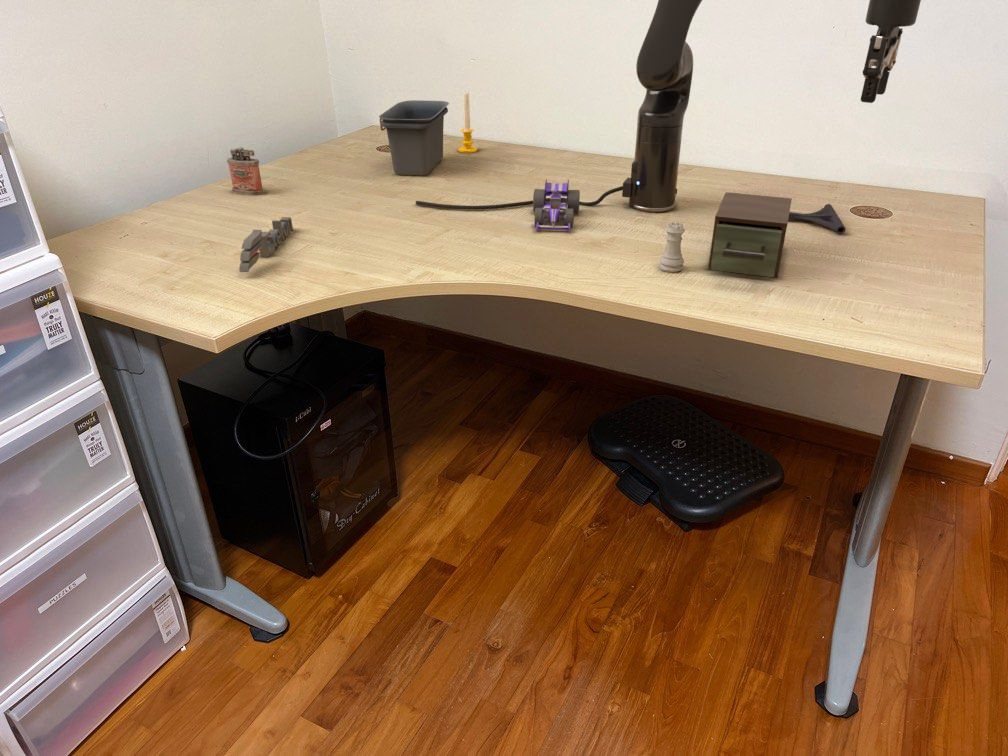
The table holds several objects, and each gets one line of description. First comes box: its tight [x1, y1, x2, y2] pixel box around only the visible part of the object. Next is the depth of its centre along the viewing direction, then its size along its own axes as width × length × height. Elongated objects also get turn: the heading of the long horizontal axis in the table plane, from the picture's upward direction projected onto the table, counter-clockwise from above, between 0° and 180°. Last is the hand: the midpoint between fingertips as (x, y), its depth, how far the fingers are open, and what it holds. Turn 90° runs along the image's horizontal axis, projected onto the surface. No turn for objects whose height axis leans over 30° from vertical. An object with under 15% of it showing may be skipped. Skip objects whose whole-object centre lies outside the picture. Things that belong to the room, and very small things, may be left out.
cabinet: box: [708, 191, 793, 279], centre depth 135 cm, size 15×12×10 cm
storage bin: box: [378, 99, 450, 177], centre depth 190 cm, size 21×16×14 cm
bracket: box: [788, 203, 846, 235], centre depth 154 cm, size 14×15×3 cm
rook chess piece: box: [657, 221, 686, 273], centre depth 132 cm, size 4×4×8 cm
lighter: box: [226, 146, 265, 196], centre depth 174 cm, size 8×3×10 cm, turn 68°
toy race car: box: [532, 178, 581, 233], centre depth 155 cm, size 10×15×6 cm, turn 174°
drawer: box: [711, 222, 782, 278], centre depth 131 cm, size 18×10×8 cm, turn 159°
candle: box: [458, 91, 478, 154], centre depth 204 cm, size 5×5×16 cm
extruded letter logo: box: [239, 216, 294, 273], centre depth 141 cm, size 25×2×6 cm, turn 176°
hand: (872, 98), depth 131 cm, fingers open, 8 cm apart
